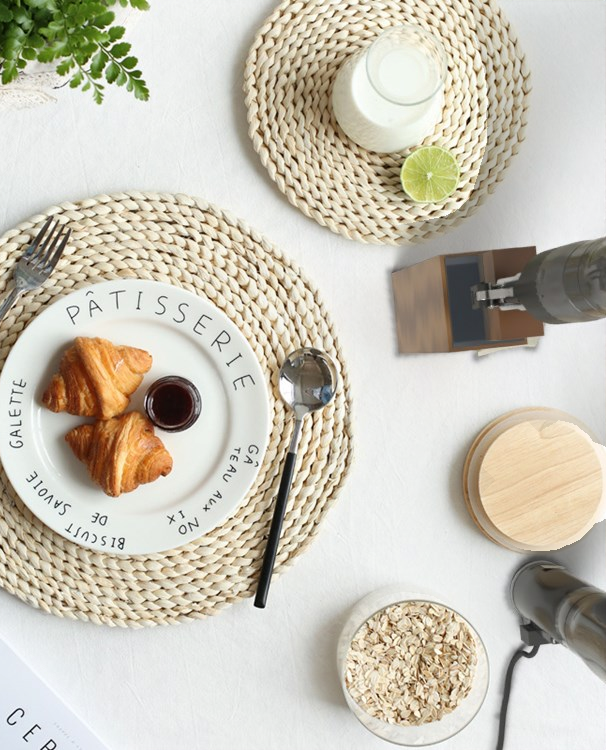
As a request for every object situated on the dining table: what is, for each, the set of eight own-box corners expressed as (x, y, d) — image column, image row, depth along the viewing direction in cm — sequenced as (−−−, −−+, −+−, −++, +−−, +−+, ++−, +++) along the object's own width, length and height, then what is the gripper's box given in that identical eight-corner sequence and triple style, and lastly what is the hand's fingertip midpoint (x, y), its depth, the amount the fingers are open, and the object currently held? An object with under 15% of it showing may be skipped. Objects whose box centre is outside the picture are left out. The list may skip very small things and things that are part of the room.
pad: (523, 340, 102) (525, 340, 101) (452, 348, 101) (453, 348, 101) (515, 251, 101) (516, 251, 101) (443, 258, 101) (444, 258, 100)
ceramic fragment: (549, 298, 124) (561, 296, 120) (565, 328, 125) (577, 327, 121) (470, 344, 124) (479, 344, 120) (486, 374, 124) (496, 375, 120)
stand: (464, 347, 124) (527, 344, 102) (399, 353, 123) (448, 352, 101) (456, 267, 123) (518, 247, 101) (391, 273, 123) (439, 254, 101)
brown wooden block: (527, 336, 96) (544, 335, 91) (485, 341, 95) (501, 340, 91) (518, 250, 96) (536, 245, 91) (477, 255, 95) (492, 249, 91)
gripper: (506, 330, 78) (446, 335, 95) (651, 314, 79) (566, 322, 96) (498, 250, 78) (439, 270, 95) (644, 236, 79) (560, 258, 96)
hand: (503, 296), depth 95 cm, fingers closed on brown wooden block, 5 cm apart
